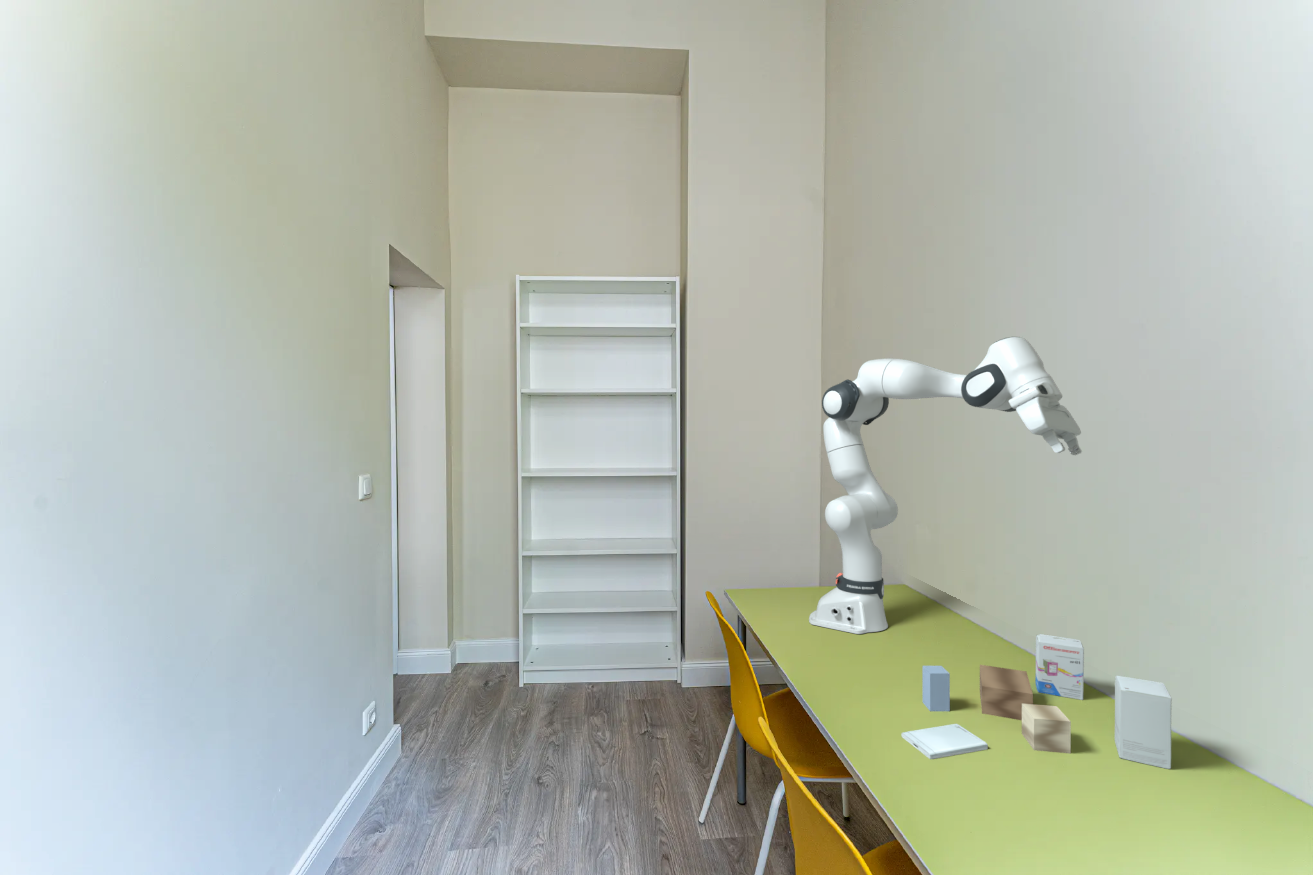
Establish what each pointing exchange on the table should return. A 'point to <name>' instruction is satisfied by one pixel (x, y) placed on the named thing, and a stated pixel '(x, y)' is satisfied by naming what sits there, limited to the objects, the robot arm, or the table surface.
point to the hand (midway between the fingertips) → (1069, 453)
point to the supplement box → (1143, 721)
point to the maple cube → (1046, 728)
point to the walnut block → (1004, 691)
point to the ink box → (1059, 666)
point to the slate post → (936, 688)
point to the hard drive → (944, 741)
